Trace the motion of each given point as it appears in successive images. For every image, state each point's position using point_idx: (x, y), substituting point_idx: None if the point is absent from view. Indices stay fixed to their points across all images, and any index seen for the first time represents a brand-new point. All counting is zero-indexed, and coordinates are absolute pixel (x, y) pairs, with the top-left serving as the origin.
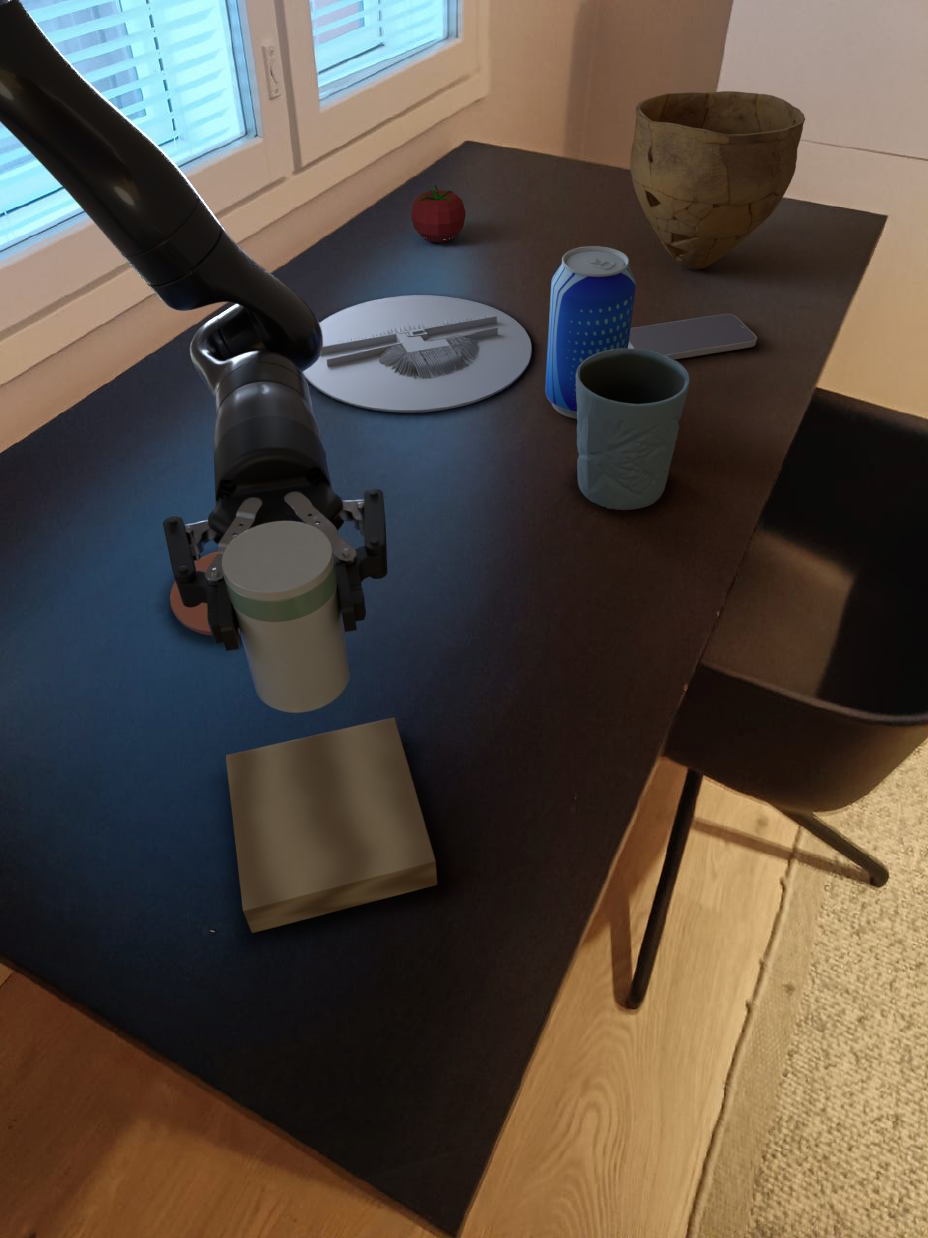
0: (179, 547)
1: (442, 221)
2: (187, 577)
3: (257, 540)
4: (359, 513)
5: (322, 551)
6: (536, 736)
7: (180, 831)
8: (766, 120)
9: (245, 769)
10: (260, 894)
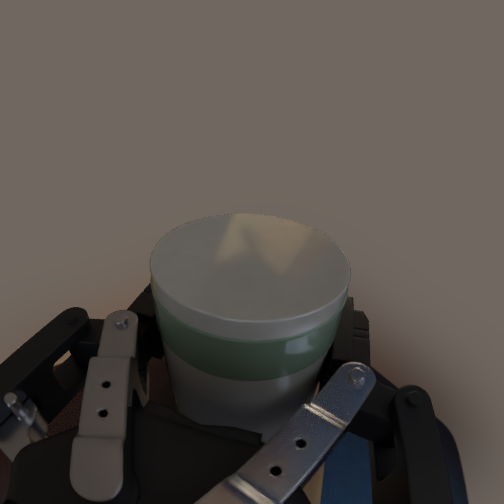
0: (424, 466)
1: None
2: (404, 386)
3: (273, 288)
4: (24, 407)
5: (180, 234)
6: (73, 422)
7: (360, 484)
8: None
9: (305, 486)
10: (317, 389)
